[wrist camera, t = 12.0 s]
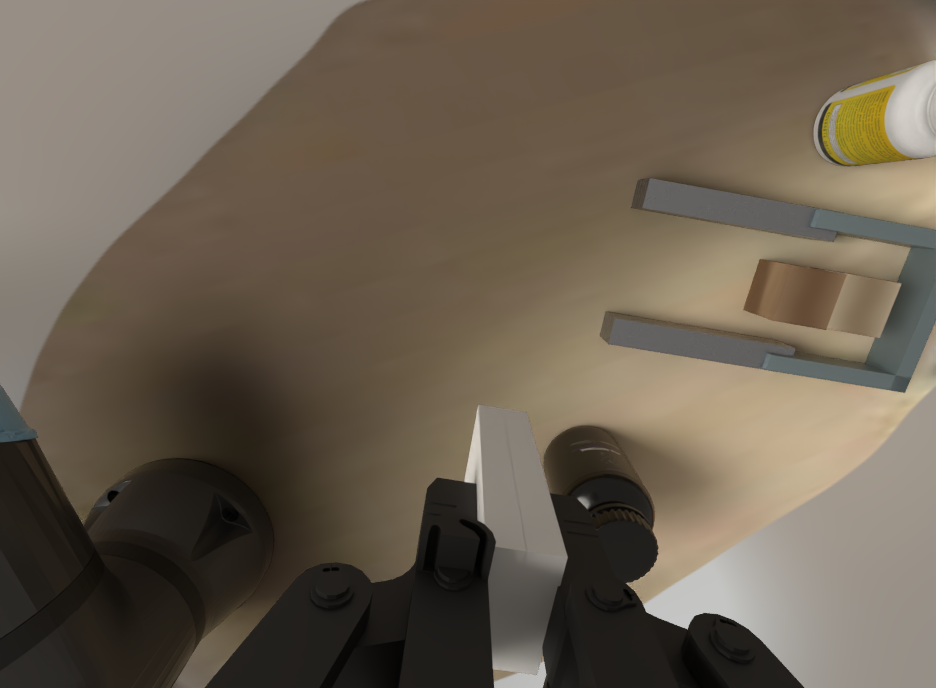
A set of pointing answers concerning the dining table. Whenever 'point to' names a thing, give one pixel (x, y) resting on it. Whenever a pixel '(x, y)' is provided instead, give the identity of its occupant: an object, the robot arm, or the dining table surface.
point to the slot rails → (722, 211)
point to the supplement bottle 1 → (606, 496)
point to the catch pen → (910, 320)
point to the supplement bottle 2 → (880, 119)
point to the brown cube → (794, 294)
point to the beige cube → (863, 305)
